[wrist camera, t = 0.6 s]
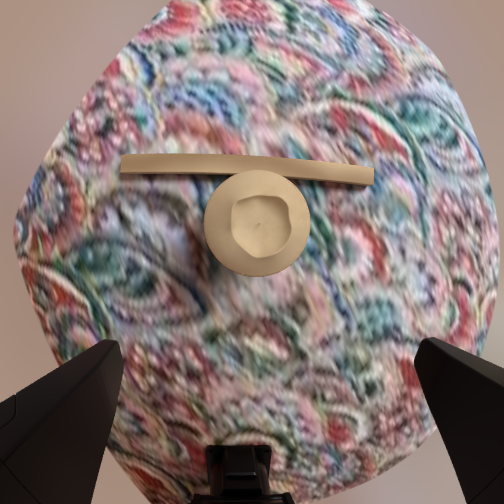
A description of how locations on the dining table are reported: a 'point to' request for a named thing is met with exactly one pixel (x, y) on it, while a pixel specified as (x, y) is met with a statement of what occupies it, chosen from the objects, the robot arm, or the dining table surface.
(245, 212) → the candle
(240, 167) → the oak strip
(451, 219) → the dining table surface
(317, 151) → the dining table surface
